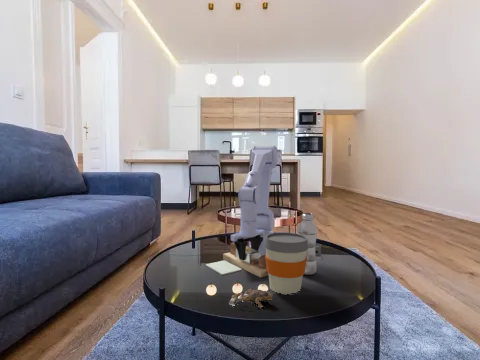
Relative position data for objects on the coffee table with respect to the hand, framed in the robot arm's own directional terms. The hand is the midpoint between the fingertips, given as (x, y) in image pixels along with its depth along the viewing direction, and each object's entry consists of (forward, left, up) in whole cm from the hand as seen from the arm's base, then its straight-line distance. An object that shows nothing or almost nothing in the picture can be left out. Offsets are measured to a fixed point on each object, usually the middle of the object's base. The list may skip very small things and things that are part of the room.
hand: (248, 258), depth 103 cm
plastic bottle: (-11, +17, -3) cm, 21 cm away
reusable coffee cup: (+3, +21, -3) cm, 21 cm away
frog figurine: (+15, +22, -3) cm, 27 cm away
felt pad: (+9, -3, -3) cm, 9 cm away
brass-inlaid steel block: (0, 0, -1) cm, 1 cm away
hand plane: (0, 0, -3) cm, 3 cm away
